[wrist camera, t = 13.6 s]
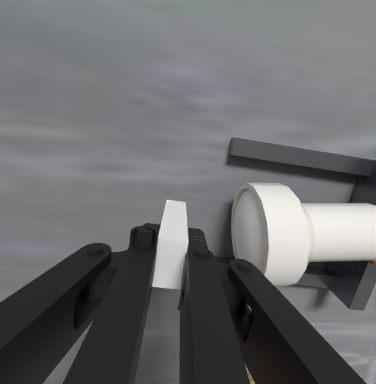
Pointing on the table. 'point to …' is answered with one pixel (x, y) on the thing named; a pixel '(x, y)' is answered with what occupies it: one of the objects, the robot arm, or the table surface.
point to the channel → (363, 193)
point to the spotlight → (297, 231)
